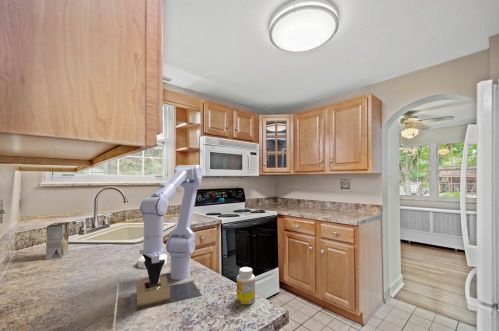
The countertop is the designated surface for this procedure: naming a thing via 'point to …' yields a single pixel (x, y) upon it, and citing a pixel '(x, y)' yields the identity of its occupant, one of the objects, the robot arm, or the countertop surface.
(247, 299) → the supplement bottle
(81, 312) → the countertop surface
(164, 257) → the mooncake
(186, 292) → the clevis base
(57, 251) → the coffee box
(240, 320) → the countertop surface
